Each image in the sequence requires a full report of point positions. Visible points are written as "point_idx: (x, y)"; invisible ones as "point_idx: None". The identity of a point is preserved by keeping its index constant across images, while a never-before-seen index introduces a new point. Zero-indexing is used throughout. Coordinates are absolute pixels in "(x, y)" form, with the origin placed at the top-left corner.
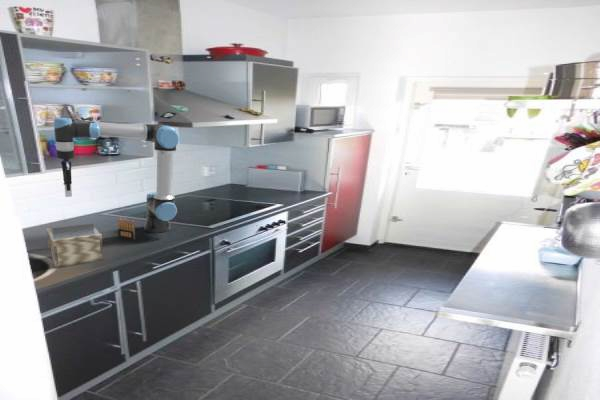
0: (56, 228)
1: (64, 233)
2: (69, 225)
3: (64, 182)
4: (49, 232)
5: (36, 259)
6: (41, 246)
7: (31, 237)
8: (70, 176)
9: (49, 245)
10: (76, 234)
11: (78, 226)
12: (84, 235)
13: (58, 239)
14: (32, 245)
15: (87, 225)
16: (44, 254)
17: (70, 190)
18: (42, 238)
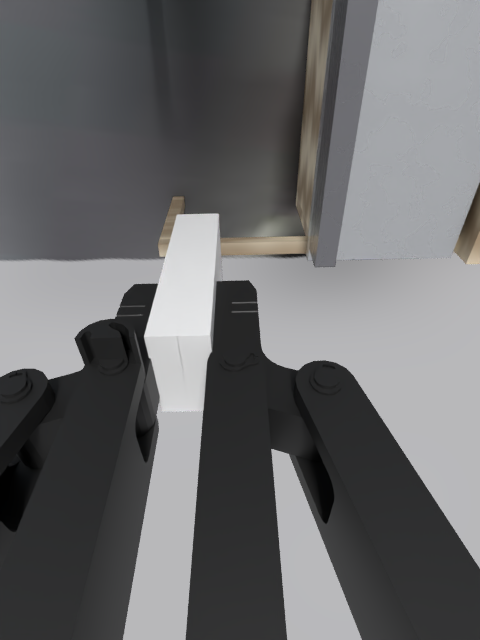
0: (337, 246)
1: (347, 192)
2: (327, 170)
3: (149, 429)
4: (241, 250)
5: (286, 254)
6: (140, 230)
7: (10, 257)
8: (474, 582)
9: (183, 210)
10: (413, 126)
11: (358, 106)
12: (473, 74)
13: (431, 231)
14: (118, 258)
15: (371, 23)
16: (244, 226)
17: (216, 272)
18: (29, 220)
